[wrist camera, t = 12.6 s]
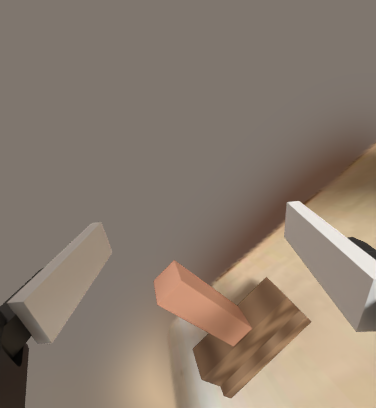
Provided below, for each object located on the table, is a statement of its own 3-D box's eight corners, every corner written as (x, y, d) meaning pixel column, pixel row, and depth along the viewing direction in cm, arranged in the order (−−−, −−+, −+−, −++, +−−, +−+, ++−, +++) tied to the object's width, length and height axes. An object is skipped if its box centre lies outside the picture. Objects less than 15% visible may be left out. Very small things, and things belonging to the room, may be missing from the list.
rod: (238, 306, 32) (174, 260, 25) (252, 328, 28) (181, 280, 21) (221, 322, 32) (153, 280, 25) (233, 346, 28) (157, 304, 21)
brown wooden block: (279, 289, 36) (261, 272, 33) (311, 321, 29) (293, 304, 26) (213, 353, 36) (190, 341, 33) (231, 398, 30) (204, 389, 27)
